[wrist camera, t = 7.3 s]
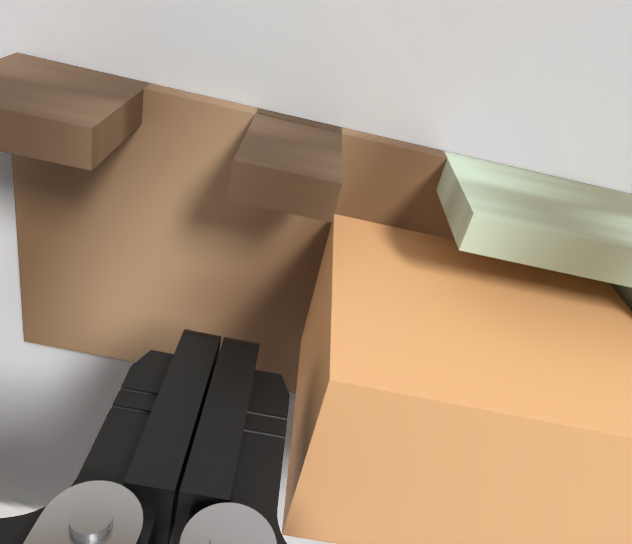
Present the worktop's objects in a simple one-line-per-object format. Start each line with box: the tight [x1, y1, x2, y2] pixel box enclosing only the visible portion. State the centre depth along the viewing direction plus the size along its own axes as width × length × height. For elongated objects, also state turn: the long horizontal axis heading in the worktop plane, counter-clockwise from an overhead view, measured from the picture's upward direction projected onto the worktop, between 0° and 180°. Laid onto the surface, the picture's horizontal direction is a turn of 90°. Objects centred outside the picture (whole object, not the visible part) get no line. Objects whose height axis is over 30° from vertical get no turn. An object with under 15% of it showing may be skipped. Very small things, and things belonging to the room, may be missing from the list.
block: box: [282, 214, 632, 544], centre depth 12 cm, size 7×4×6 cm, turn 78°
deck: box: [0, 53, 632, 393], centre depth 14 cm, size 16×8×4 cm, turn 78°
